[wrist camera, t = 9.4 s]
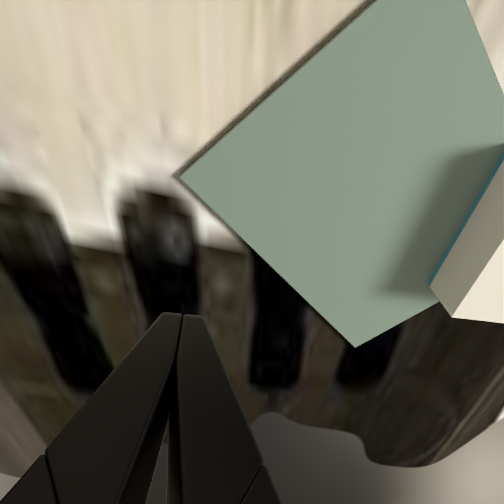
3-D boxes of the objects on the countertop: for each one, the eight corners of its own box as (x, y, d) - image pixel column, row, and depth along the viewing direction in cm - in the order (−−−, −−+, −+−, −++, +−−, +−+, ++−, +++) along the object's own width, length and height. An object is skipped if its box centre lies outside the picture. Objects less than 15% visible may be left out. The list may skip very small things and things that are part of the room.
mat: (353, 343, 26) (354, 347, 26) (180, 174, 18) (179, 177, 18) (555, 231, 21) (560, 234, 21) (437, -56, 14) (442, -58, 13)
